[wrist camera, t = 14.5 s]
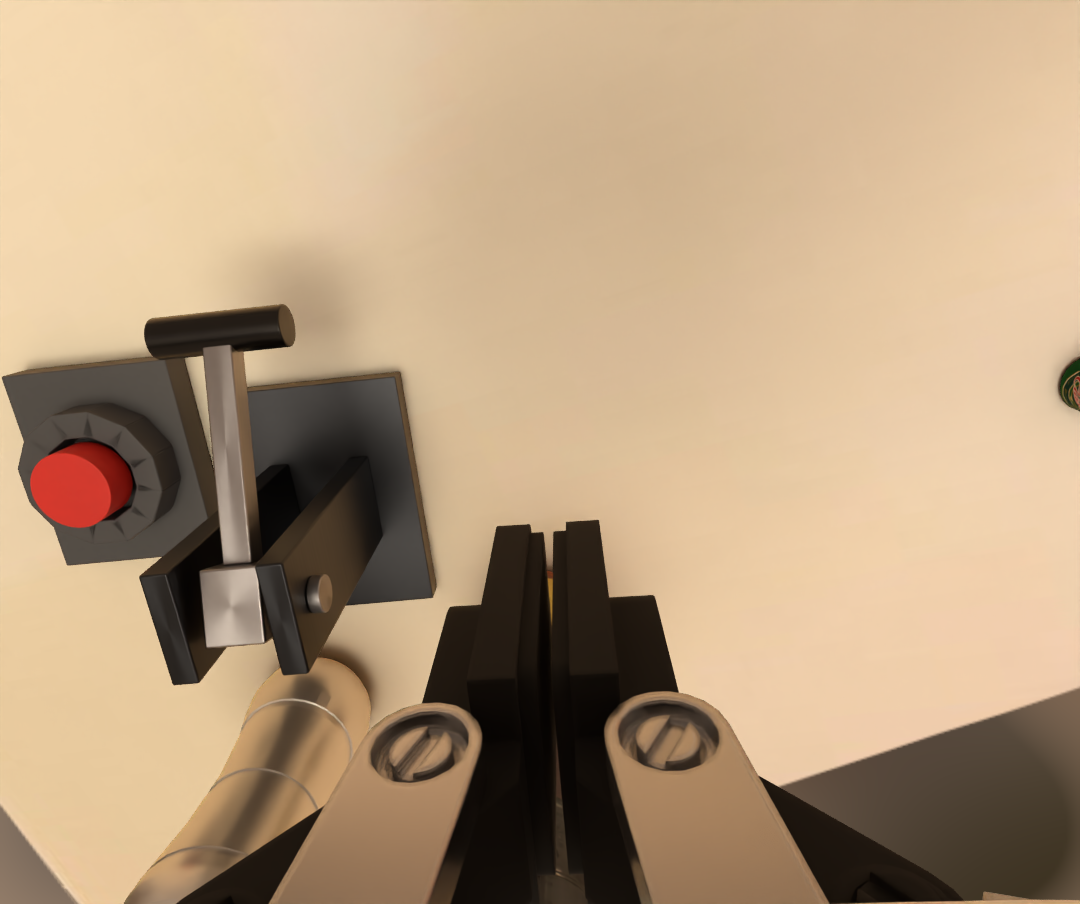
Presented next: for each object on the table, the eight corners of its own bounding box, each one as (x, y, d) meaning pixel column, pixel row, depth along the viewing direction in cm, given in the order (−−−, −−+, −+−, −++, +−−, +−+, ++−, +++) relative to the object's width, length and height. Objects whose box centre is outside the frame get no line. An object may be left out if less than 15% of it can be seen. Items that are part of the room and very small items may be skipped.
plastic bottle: (261, 726, 41) (8, 1163, 22) (275, 629, 39) (12, 1015, 20) (369, 748, 41) (214, 1196, 22) (389, 653, 39) (238, 1056, 20)
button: (45, 445, 32) (18, 457, 30) (120, 437, 32) (97, 449, 30) (69, 516, 33) (44, 531, 32) (142, 509, 33) (120, 524, 31)
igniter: (26, 369, 34) (-30, 384, 31) (182, 353, 34) (143, 366, 31) (87, 551, 37) (42, 583, 34) (231, 538, 37) (200, 568, 34)
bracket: (222, 389, 34) (44, 477, 22) (400, 371, 34) (317, 450, 22) (275, 601, 38) (147, 776, 26) (436, 587, 38) (383, 757, 26)
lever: (173, 324, 27) (134, 312, 25) (298, 311, 27) (271, 297, 24) (202, 634, 27) (166, 652, 25) (327, 623, 27) (304, 640, 24)
